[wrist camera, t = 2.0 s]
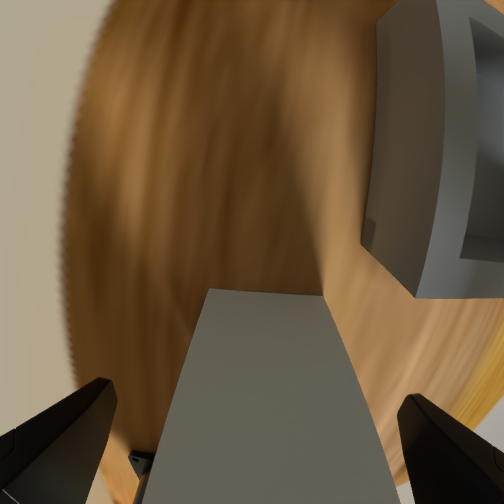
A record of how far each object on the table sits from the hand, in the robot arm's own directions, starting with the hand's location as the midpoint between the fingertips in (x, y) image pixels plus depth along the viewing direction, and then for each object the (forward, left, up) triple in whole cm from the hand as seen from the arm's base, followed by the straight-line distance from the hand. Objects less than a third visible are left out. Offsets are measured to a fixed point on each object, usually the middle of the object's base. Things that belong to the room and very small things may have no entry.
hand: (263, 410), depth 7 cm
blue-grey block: (0, 0, -4) cm, 4 cm away
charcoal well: (+8, -7, -4) cm, 11 cm away
